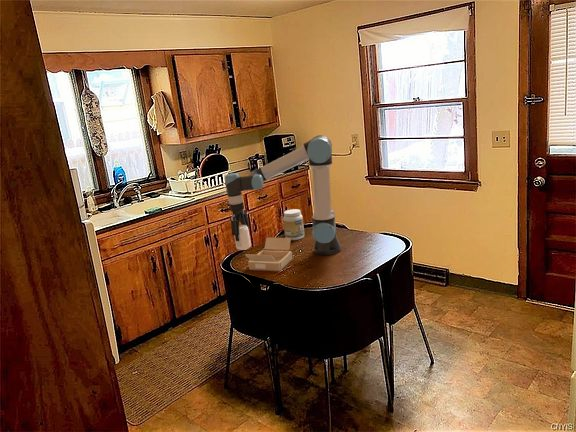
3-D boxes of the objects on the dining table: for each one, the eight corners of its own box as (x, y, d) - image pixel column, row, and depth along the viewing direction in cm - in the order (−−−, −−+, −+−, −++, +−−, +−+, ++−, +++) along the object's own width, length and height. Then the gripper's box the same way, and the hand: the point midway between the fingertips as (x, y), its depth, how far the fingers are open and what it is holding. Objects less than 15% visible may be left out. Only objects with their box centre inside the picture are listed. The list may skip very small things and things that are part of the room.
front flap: (271, 255, 233) (271, 255, 232) (276, 261, 238) (276, 262, 238) (245, 254, 239) (245, 254, 239) (250, 260, 244) (250, 260, 244)
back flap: (266, 237, 261) (266, 237, 261) (264, 248, 258) (264, 249, 259) (290, 238, 255) (291, 238, 255) (288, 249, 252) (289, 250, 253)
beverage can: (249, 250, 246) (245, 228, 243) (234, 251, 248) (230, 229, 245) (253, 244, 254) (249, 223, 250) (239, 245, 255) (235, 225, 252)
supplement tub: (301, 240, 282) (298, 214, 277) (282, 240, 286) (279, 214, 282) (307, 234, 292) (304, 208, 288) (289, 234, 297) (286, 208, 292)
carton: (293, 259, 253) (292, 251, 252) (280, 271, 238) (279, 263, 237) (262, 257, 261) (261, 250, 260) (248, 269, 246) (247, 261, 245)
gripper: (239, 197, 255) (246, 237, 261) (219, 208, 237) (227, 250, 243) (251, 197, 251) (258, 237, 257) (232, 208, 233) (240, 250, 239)
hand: (243, 243), depth 250 cm, fingers closed on beverage can, 8 cm apart
